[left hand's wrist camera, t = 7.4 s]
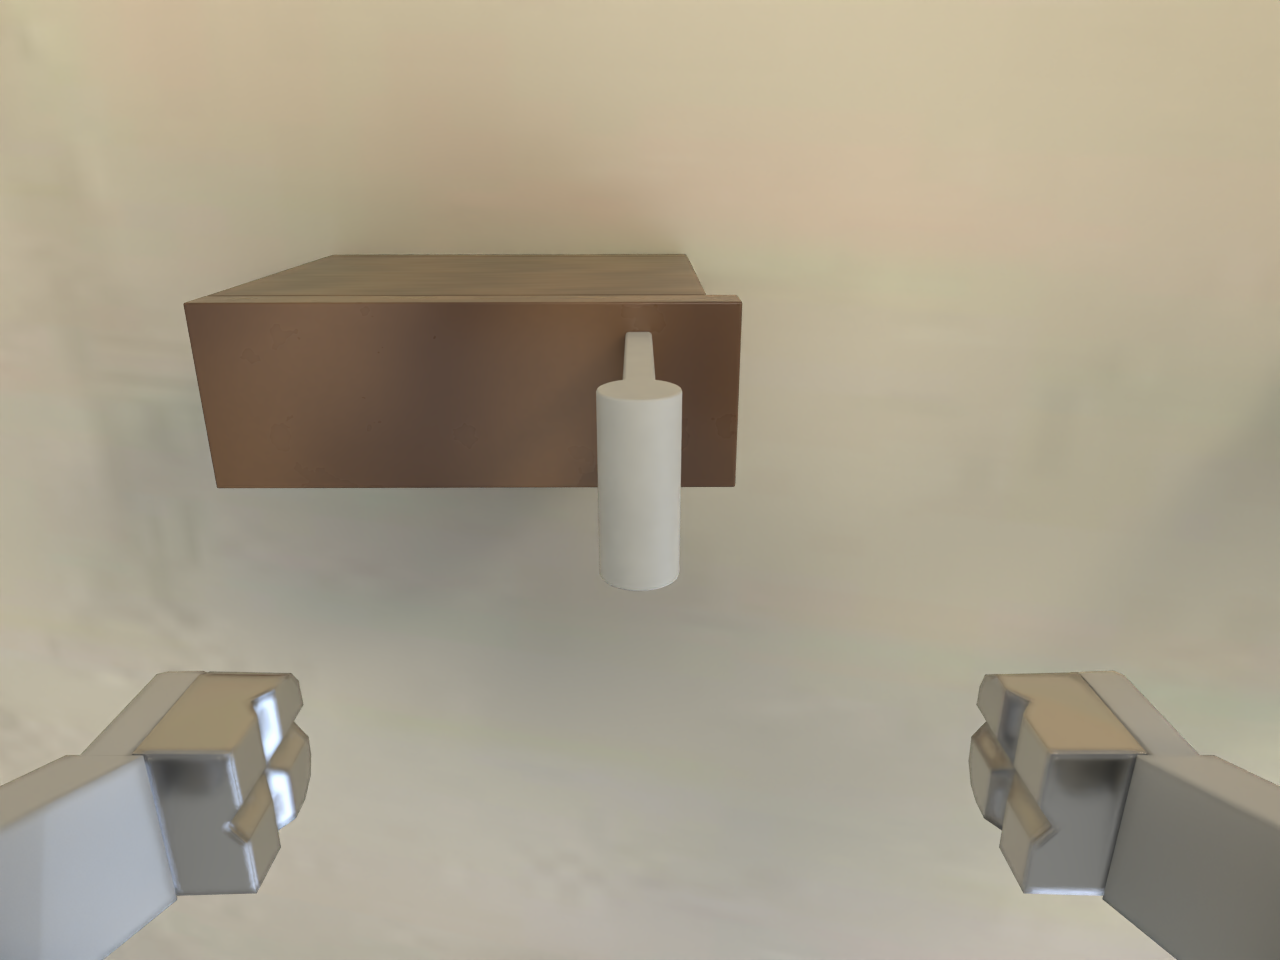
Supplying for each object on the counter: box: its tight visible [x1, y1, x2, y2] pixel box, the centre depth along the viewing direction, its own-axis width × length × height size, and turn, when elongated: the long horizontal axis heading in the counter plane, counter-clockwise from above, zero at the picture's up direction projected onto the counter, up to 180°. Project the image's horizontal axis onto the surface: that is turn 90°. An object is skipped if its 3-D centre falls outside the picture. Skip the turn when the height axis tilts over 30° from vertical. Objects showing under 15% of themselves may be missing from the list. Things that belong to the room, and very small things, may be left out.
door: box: [184, 295, 742, 591], centre depth 21 cm, size 15×5×9 cm, turn 90°
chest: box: [208, 254, 706, 296], centre depth 30 cm, size 14×5×11 cm, turn 90°
